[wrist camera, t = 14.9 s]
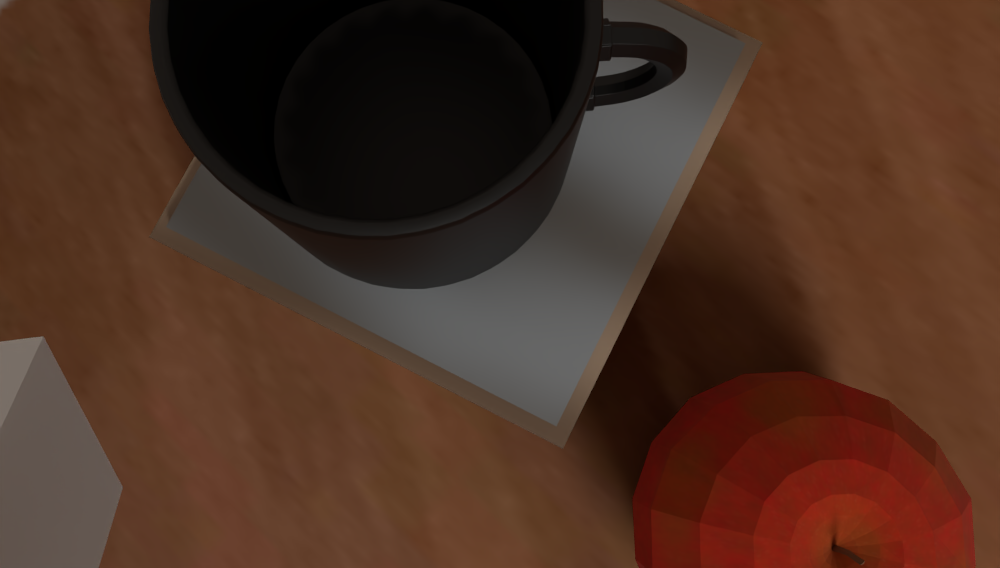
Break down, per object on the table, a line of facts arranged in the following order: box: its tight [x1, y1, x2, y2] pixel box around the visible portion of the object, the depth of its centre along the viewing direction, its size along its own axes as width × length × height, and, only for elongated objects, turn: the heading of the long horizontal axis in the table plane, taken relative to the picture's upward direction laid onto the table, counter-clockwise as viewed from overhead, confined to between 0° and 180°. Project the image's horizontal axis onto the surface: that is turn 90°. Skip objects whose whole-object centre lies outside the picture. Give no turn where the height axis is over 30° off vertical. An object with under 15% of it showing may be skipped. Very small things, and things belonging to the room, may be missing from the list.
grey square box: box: [150, 0, 762, 449], centre depth 33 cm, size 14×14×9 cm
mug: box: [149, 0, 687, 289], centre depth 24 cm, size 9×12×9 cm
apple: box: [632, 371, 976, 568], centre depth 30 cm, size 10×10×12 cm
